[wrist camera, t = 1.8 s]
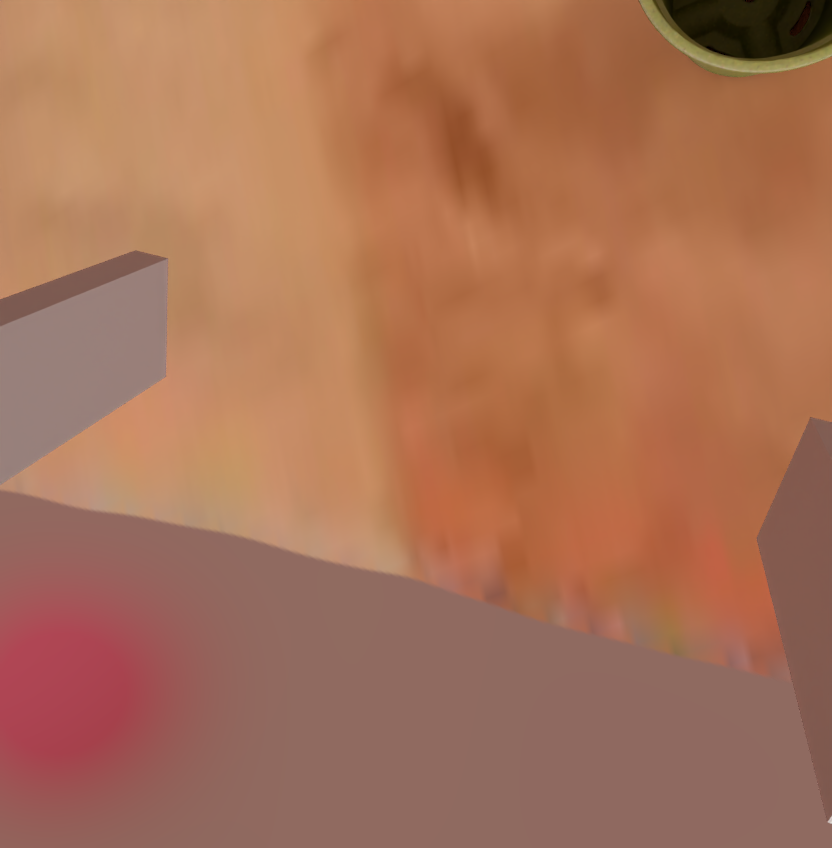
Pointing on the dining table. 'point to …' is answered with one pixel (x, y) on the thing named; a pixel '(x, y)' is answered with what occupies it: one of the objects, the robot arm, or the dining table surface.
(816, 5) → the plant pot
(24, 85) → the dining table surface
